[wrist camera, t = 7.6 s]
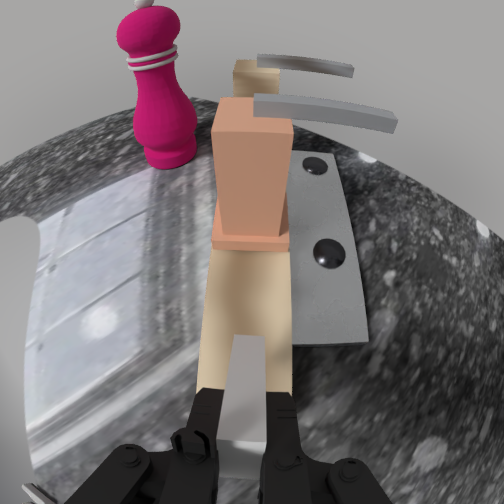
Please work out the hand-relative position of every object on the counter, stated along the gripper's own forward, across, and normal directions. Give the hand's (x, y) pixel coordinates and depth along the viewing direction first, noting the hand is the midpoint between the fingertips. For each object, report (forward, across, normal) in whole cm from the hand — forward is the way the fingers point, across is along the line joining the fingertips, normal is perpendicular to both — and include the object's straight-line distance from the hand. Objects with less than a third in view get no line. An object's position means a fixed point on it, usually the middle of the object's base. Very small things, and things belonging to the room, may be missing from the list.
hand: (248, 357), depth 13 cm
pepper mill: (+21, +11, -12) cm, 26 cm away
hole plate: (+13, -6, -5) cm, 15 cm away
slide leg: (+10, -2, -5) cm, 12 cm away
